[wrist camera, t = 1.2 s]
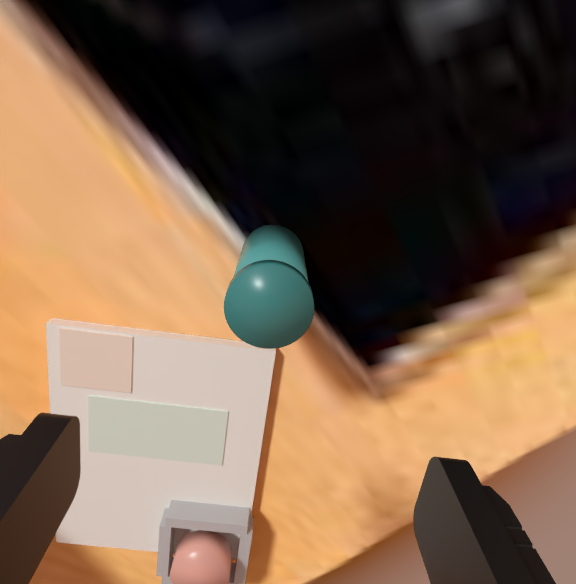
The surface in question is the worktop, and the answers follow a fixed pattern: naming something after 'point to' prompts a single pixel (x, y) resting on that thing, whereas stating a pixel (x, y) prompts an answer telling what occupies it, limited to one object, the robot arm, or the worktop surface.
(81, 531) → the board
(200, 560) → the button
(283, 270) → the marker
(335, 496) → the worktop surface
